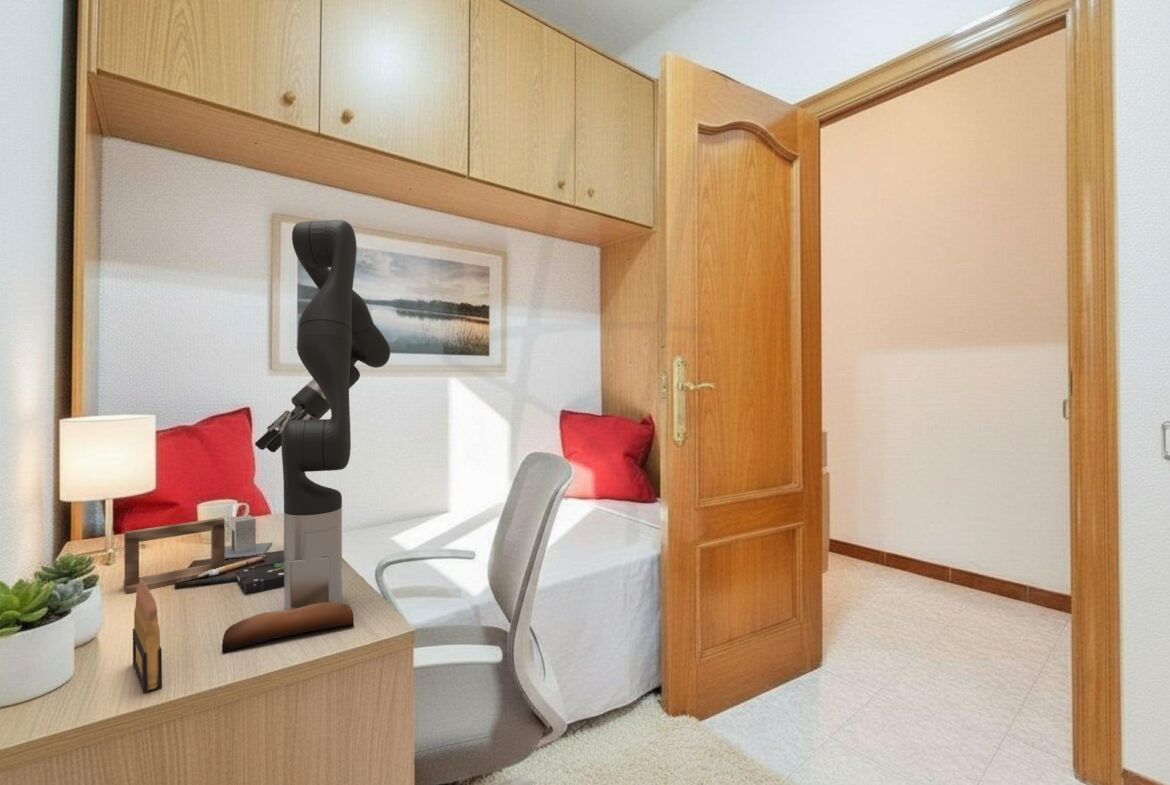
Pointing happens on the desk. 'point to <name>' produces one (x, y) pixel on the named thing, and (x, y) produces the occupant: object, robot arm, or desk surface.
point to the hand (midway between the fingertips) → (263, 448)
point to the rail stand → (167, 531)
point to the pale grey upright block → (243, 534)
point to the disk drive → (261, 578)
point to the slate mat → (260, 549)
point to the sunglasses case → (286, 623)
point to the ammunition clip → (147, 640)
